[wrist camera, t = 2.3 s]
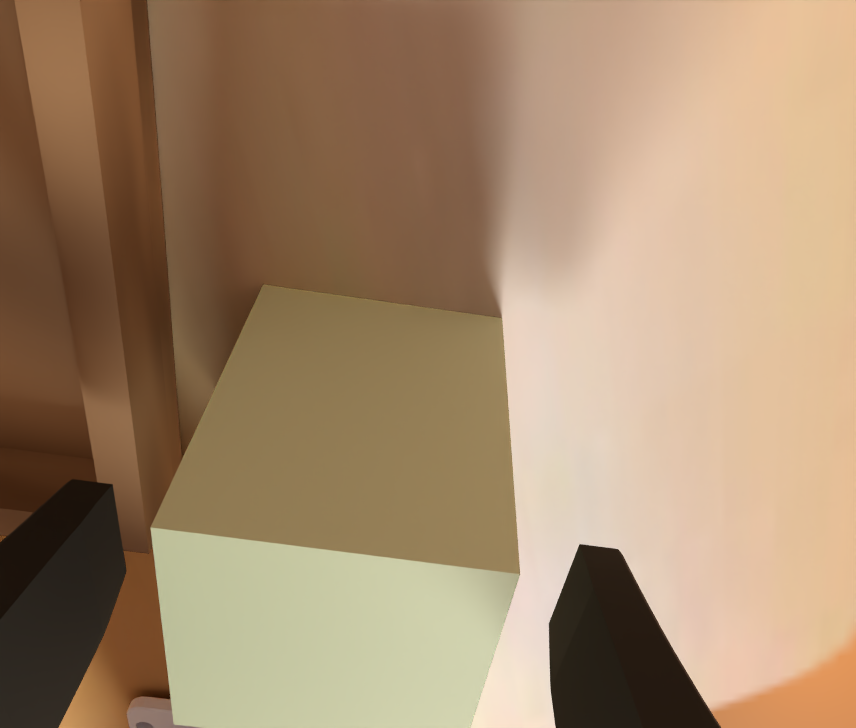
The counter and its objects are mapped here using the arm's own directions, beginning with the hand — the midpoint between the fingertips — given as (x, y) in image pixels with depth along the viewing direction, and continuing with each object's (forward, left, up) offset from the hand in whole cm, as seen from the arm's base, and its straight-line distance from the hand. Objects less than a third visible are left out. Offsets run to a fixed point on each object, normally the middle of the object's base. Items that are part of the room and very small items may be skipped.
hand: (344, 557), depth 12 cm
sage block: (0, 0, -4) cm, 4 cm away
